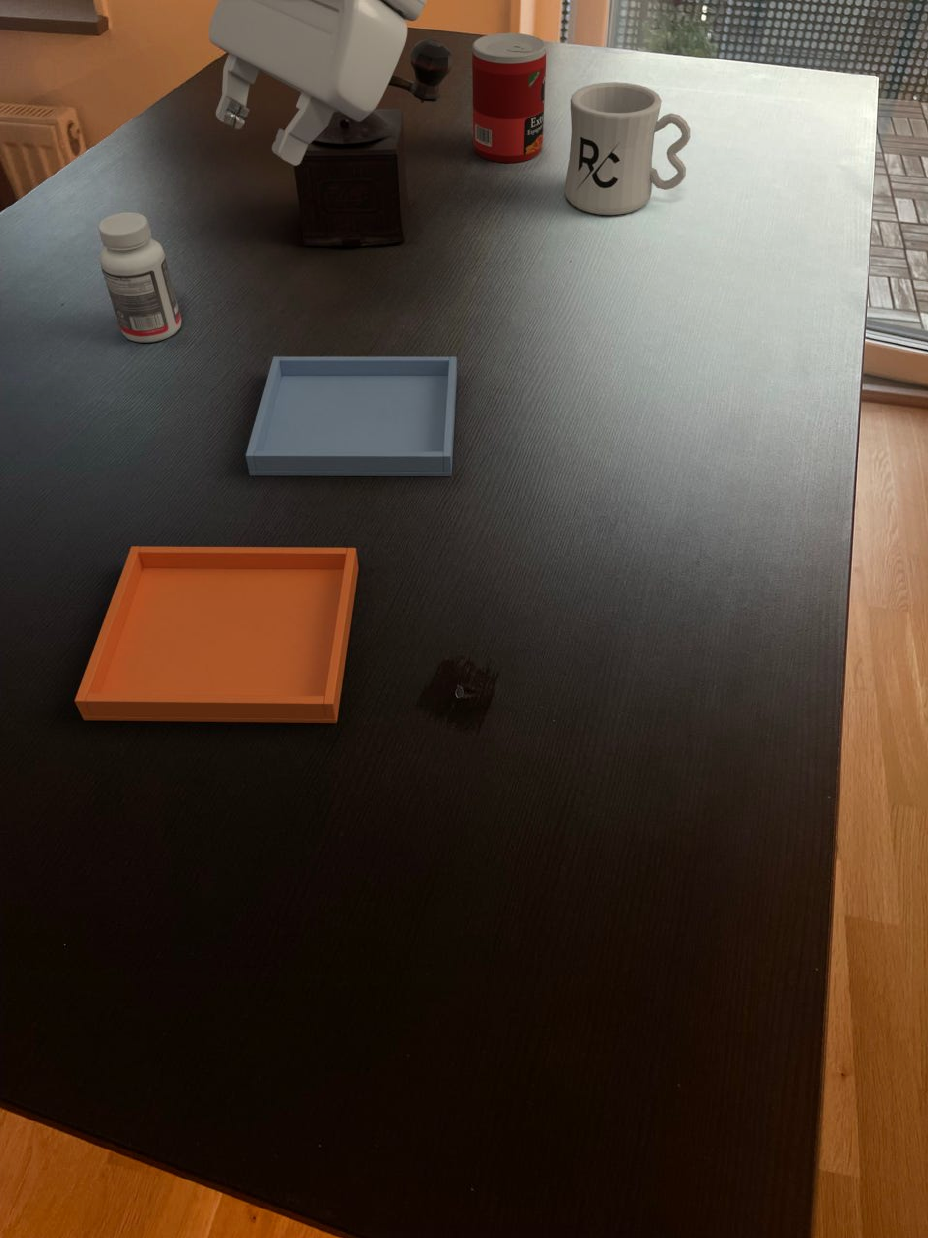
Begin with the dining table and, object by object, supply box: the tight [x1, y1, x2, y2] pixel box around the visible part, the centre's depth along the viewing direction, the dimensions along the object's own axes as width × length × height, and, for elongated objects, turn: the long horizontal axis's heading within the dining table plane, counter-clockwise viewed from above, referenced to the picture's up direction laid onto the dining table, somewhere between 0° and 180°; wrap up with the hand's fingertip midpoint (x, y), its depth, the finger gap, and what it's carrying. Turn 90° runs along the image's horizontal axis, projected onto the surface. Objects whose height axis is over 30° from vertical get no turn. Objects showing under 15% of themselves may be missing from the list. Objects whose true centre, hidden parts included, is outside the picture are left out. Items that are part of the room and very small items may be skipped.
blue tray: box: [245, 355, 458, 477], centre depth 78 cm, size 15×13×2 cm
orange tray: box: [74, 545, 359, 724], centre depth 63 cm, size 15×13×2 cm
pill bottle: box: [98, 211, 182, 344], centre depth 86 cm, size 5×5×10 cm
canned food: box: [471, 32, 547, 164], centre depth 110 cm, size 8×8×11 cm
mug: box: [564, 81, 691, 216], centre depth 101 cm, size 12×9×10 cm
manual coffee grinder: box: [293, 38, 454, 248], centre depth 96 cm, size 16×11×18 cm
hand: (254, 141), depth 75 cm, fingers open, 8 cm apart
